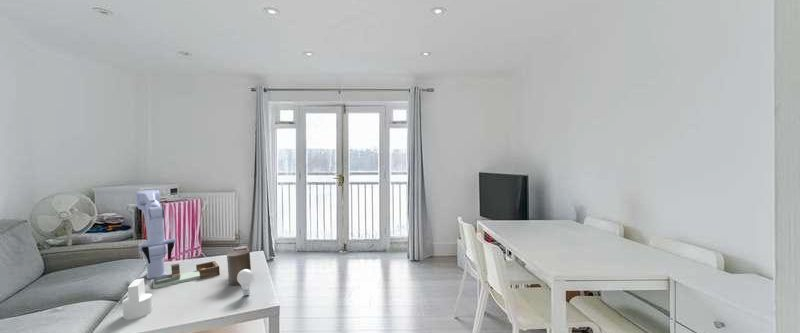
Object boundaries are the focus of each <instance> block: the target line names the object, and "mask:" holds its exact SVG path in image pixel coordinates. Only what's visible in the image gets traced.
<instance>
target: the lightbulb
mask: <svg viewBox="0 0 800 333" xmlns="http://www.w3.org/2000/svg"><path fill="white" fill-rule="evenodd" d="M254 276H255V275H254V273H253V270H252V269H251V270H249V269H243V270H241V271H240V272H239V273H238V275H237V281H238V282H239V284H240V285H239V286H240V287H241V289H242V295H243V296H244V297H245V296H246V297H247V296H249V295H250V294H251V289H250V288H251V284H252V282H253V281H254Z"/></svg>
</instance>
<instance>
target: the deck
mask: <svg viewBox="0 0 800 333" xmlns="http://www.w3.org/2000/svg"><path fill="white" fill-rule="evenodd" d="M170 278H172V277H170ZM170 278H165V279H170ZM165 279H161V280H165ZM197 279H198V280H199V279H200V272H199V270H198V271H197V270H194V271H188V272H183V273H180V278H179V280H175V281H171V282H166V283H162V284H157V285H155V283H154V279H152V285H153V289H158V288H163V287H166V286H173V285H176V284H179V283H184V282H189V281H193V280H197ZM161 280H157V281H161Z"/></svg>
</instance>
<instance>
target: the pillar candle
mask: <svg viewBox="0 0 800 333" xmlns="http://www.w3.org/2000/svg"><path fill="white" fill-rule="evenodd" d="M226 257H227V260H226V262H227V272H228V284H229V285H230V286H241V285H240V284H239V282H238V281H237V275H238V273H239V272H240V271H241V270H243V269H249V270H251V271H252V267H251V266H252V265H251V253H250V249H249V250H237V251H234V250H233V251H231V252H228V253H227V254H226Z"/></svg>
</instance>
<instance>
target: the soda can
mask: <svg viewBox="0 0 800 333" xmlns="http://www.w3.org/2000/svg"><path fill="white" fill-rule="evenodd" d="M237 250H249V251H250V249H249V246H248V245H244V244H243V245H238V246H235V247H234V248H233V251H237Z"/></svg>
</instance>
